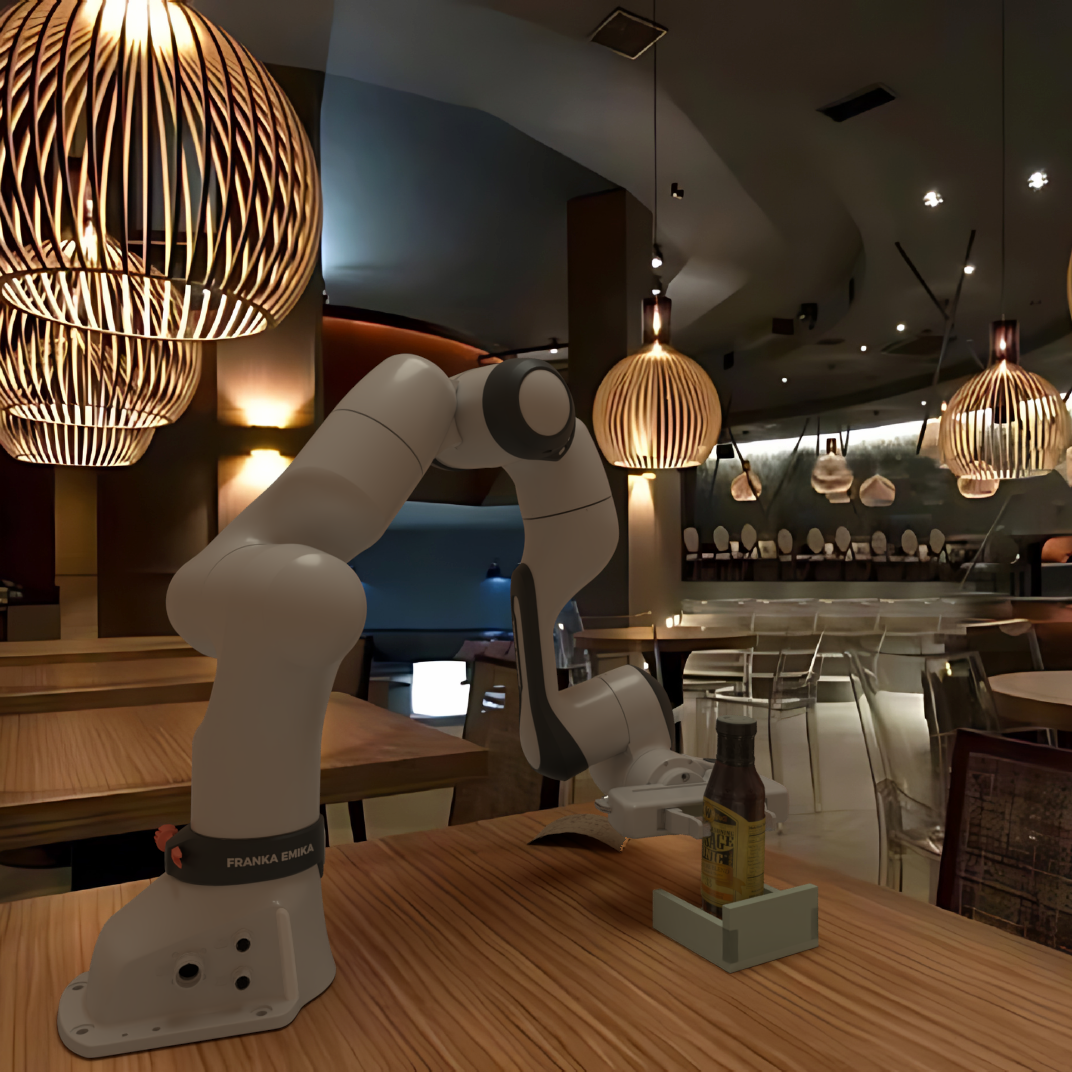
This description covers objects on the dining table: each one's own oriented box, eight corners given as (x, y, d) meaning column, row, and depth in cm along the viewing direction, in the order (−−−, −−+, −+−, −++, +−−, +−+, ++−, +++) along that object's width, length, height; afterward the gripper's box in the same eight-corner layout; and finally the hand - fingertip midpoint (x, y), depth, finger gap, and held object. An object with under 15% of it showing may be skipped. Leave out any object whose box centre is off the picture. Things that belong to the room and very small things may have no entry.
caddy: (729, 973, 80) (729, 909, 80) (652, 927, 90) (652, 870, 90) (818, 946, 85) (818, 886, 86) (736, 906, 95) (736, 852, 96)
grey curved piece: (522, 849, 116) (522, 828, 116) (541, 827, 126) (541, 808, 126) (630, 859, 112) (630, 838, 112) (641, 835, 122) (641, 816, 122)
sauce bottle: (689, 907, 90) (689, 713, 90) (740, 899, 92) (740, 710, 92) (724, 932, 84) (724, 724, 84) (778, 923, 86) (778, 721, 86)
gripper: (588, 771, 97) (645, 804, 84) (745, 758, 104) (821, 787, 91) (587, 829, 96) (645, 871, 83) (745, 811, 103) (821, 848, 90)
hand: (738, 827), depth 87 cm, fingers closed on sauce bottle, 6 cm apart
